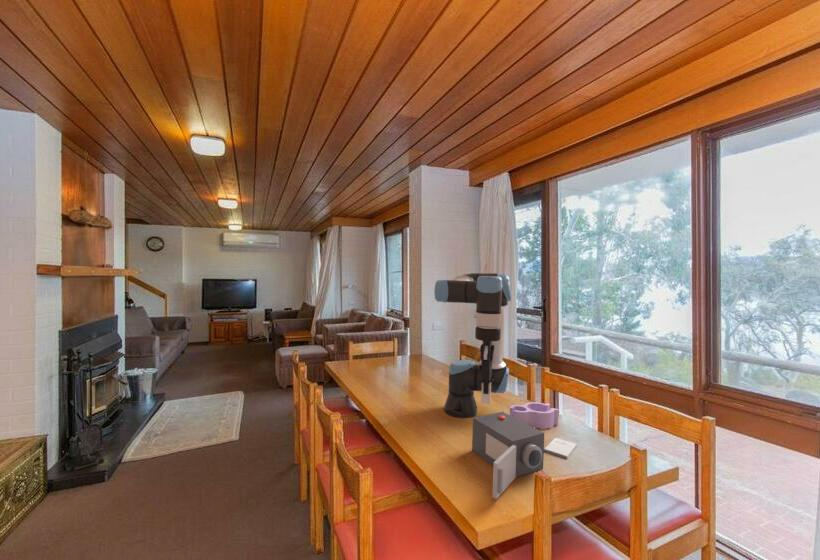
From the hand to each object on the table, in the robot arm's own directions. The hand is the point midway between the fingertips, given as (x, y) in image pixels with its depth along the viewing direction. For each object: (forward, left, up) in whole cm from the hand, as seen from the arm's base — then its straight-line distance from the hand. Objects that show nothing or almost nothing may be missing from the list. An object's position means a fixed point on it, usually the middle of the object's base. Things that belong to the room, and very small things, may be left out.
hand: (485, 402), depth 111 cm
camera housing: (-6, +16, -25) cm, 30 cm away
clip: (-26, +48, -25) cm, 60 cm away
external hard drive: (-4, +40, -25) cm, 47 cm away
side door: (+7, +3, -24) cm, 25 cm away
